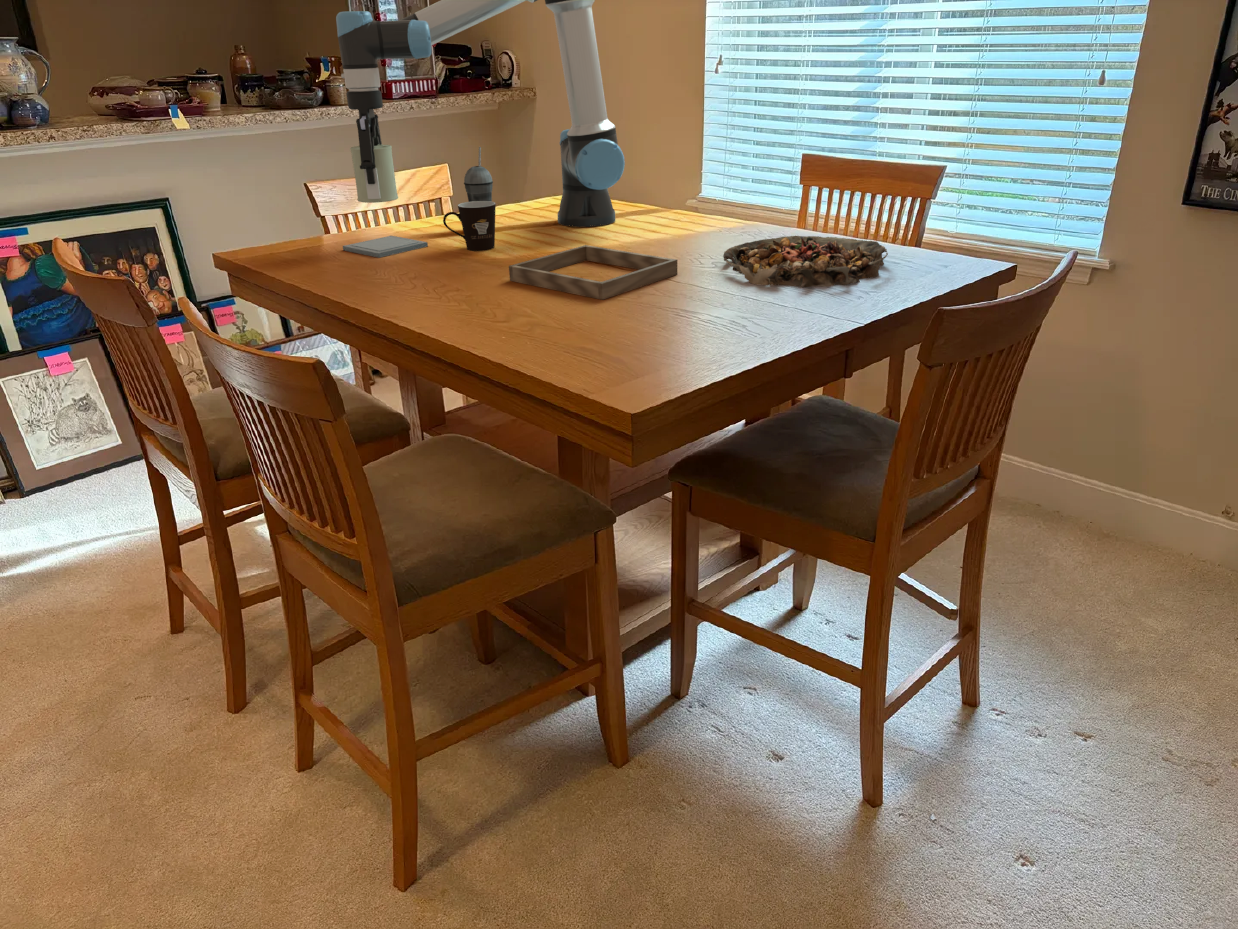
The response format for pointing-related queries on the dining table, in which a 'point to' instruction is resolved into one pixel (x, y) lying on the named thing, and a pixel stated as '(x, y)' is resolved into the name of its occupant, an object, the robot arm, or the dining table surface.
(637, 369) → the dining table surface
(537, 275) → the walnut frame
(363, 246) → the slate coaster
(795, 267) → the food dish
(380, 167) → the can
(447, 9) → the robot arm
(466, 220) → the coffee mug
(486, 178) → the beverage cup
